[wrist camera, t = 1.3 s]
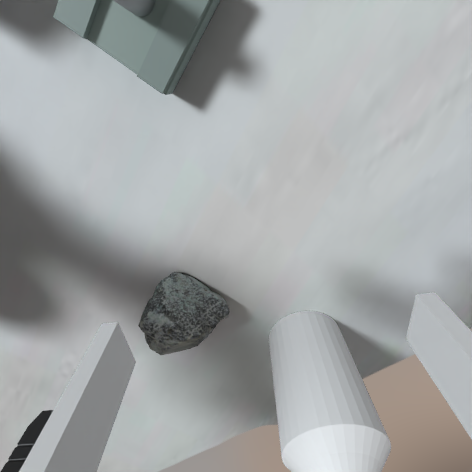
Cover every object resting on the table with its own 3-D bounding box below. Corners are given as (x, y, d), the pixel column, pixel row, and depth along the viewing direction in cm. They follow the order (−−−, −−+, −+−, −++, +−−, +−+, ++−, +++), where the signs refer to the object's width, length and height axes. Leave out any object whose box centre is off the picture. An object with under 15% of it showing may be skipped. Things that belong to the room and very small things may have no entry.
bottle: (282, 369, 49) (320, 601, 27) (255, 324, 44) (276, 567, 22) (349, 349, 47) (451, 586, 25) (329, 299, 42) (436, 543, 20)
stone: (203, 331, 30) (134, 367, 33) (240, 328, 39) (184, 356, 42) (177, 255, 34) (117, 292, 37) (216, 267, 43) (166, 297, 46)
